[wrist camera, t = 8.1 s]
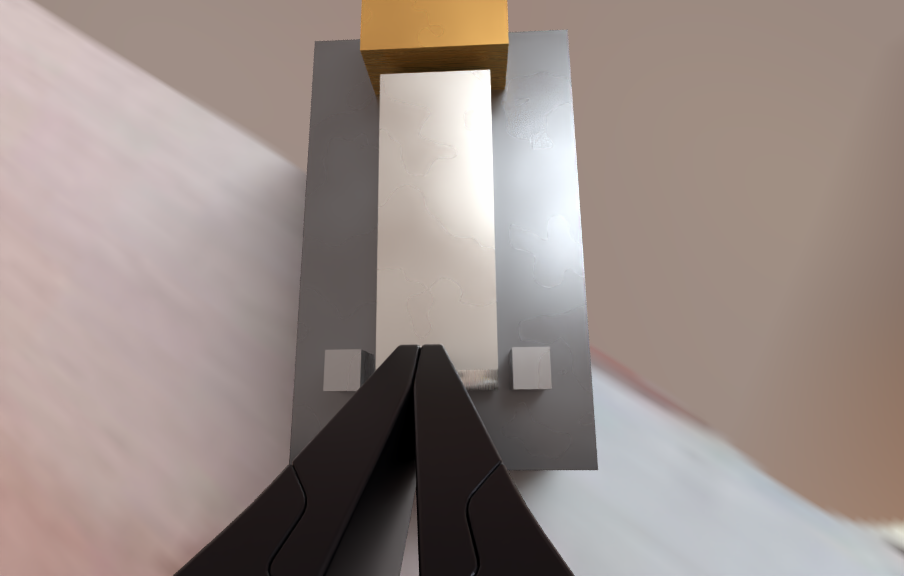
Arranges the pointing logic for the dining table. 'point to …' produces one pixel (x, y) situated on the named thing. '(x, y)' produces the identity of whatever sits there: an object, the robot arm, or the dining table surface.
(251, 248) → the dining table surface
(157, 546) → the dining table surface
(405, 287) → the light grey flat bar
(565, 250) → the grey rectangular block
